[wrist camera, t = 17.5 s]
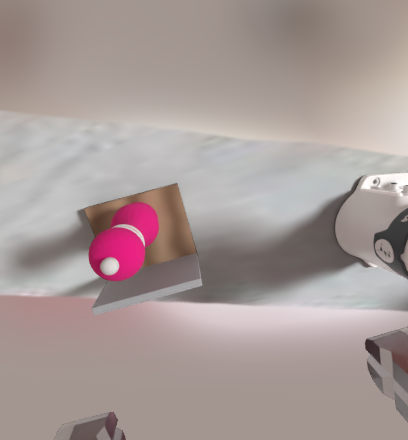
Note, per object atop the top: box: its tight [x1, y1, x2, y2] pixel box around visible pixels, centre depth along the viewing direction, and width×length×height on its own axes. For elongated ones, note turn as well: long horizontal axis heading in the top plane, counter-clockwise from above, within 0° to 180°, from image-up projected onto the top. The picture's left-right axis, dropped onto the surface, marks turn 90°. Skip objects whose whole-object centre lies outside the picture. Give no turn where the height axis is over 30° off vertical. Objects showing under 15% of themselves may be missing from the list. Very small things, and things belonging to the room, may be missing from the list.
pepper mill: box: [89, 202, 159, 281], centre depth 34 cm, size 7×7×20 cm
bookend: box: [85, 183, 202, 315], centre depth 41 cm, size 16×14×12 cm
